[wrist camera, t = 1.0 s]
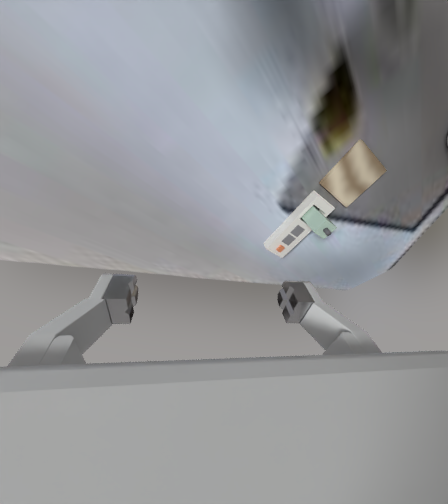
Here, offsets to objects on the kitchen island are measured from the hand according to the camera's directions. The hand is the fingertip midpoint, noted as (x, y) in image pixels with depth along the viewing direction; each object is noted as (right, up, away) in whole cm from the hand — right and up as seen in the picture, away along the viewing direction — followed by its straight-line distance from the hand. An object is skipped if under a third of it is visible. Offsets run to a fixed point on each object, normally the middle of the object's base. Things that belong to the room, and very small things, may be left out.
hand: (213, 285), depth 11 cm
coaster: (+33, +21, +41) cm, 57 cm away
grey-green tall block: (+24, +13, +46) cm, 54 cm away
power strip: (+21, +10, +48) cm, 54 cm away
